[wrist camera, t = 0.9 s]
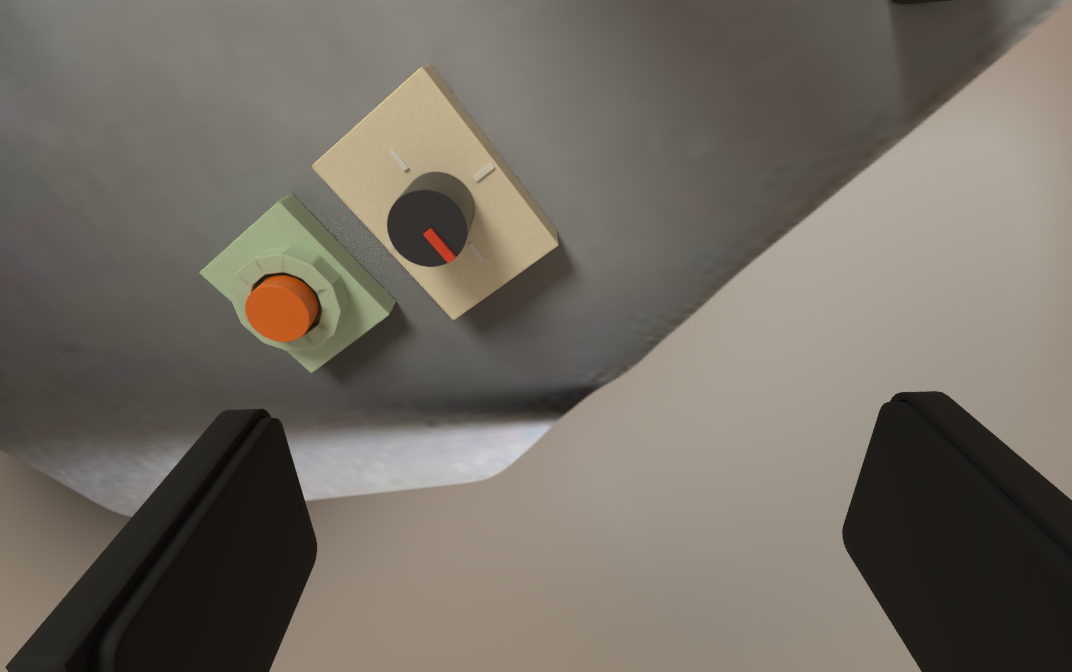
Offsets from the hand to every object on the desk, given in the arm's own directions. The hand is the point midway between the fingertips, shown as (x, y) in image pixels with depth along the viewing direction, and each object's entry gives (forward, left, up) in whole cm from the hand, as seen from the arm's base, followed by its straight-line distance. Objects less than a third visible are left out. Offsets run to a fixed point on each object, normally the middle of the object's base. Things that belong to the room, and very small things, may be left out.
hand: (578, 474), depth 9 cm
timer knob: (-3, -6, -27) cm, 28 cm away
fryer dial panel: (-3, -6, -30) cm, 31 cm away
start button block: (-8, -18, -30) cm, 36 cm away
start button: (-8, -18, -27) cm, 33 cm away
